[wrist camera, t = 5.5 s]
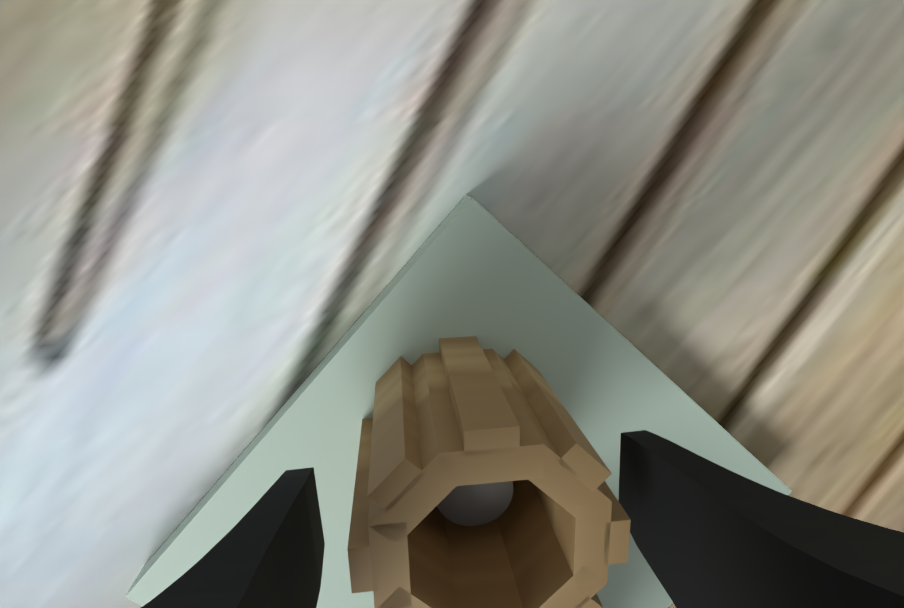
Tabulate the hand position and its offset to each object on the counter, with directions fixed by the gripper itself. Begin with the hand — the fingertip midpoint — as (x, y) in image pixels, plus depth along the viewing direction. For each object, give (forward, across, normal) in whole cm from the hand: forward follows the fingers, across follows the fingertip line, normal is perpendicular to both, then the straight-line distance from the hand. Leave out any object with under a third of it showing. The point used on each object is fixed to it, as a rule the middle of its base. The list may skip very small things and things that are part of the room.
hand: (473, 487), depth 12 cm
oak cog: (+3, 0, 0) cm, 3 cm away
